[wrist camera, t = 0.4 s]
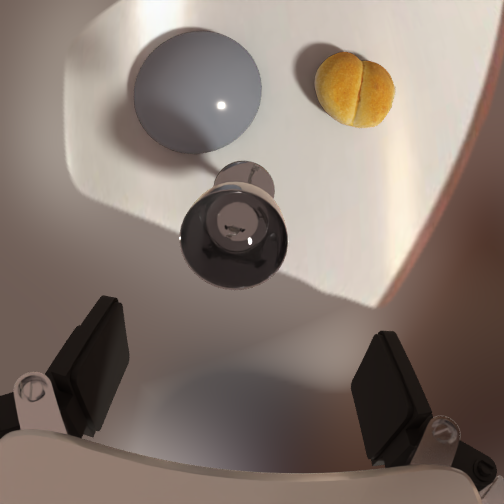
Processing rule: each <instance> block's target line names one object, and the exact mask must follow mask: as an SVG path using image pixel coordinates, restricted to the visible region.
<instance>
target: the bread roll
mask: <svg viewBox="0 0 504 504" xmlns="http://www.w3.org/2000/svg"><path fill="white" fill-rule="evenodd" d="M314 82H315V90H316V94H317V97H318V100H319V102H320V104H321V106H322V107H323V109H324V110H325V111H326V112H327V113H328V114H329V115H330V116H331V117H332V118H334V119H335V120H337V121H338V122H340V123H342V124H344V125H349V126H353V127H357V128H370V127H374V126H377V125H378V124H379V123H381V122H382V120H383V119H384V118H385V117H386V115H387V113H388V112H389V111H390V109H391V107H392V102H393V99H394V95H395V86H394V84H393V81H392V78H391V76H390V75H389V73H388V72H387V71H386V70H385V69H384V68H383V67H382V66H381V65H379V64H377V63H375V62H371V61H360V60H359V59H358V58H357V57H356V56H355V55H353V54H352V53H348V52H340V53H337V54H334V55H332V56H330V57H329V58H327V59H326V60H325V61H324V62H323V63H322V64H321V65H320V67H319V68H318V70H317V72H316V76H315V81H314Z"/></svg>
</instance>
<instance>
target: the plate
mask: <svg viewBox="0 0 504 504" xmlns="http://www.w3.org/2000/svg"><path fill="white" fill-rule="evenodd" d="M261 90H262V86H261V78H260V74H259V70H258V68H257V66H256V63H255V61H254V60H253V58H252V56H251V55H250V54H249V53H248V52H247V50H246V49H245V48H244V47H242V46H241V45H240V44H239V43H237V42H236V41H235V40H233V39H231V38H229V37H227V36H224V35H221V34H219V33H214V32H207V31H196V32H189V33H184V34H181V35H178V36H175V37H173V38H171V39H169V40H167V41H165V42H164V43H162V44H161V45H160V46H158V47H157V48H156V49H155V50H154V51H153V52H152V53H151V54H150V55H149V56H148V58H147V59H146V60H145V61H144V63H143V65H142V67H141V68H140V71H139V73H138V75H137V79H136V82H135V88H134V105H135V110H136V113H137V116H138V119H139V121H140V123H141V125H142V126H143V128H144V129H145V131H146V132H147V133H148V134H149V135H150V136H151V137H152V138H153V139H154V140H155V141H156V142H158V143H159V144H161V145H163V146H164V147H166V148H168V149H171V150H173V151H177V152H181V153H188V154H200V153H207V152H211V151H215V150H217V149H220V148H223V147H224V146H226V145H228V144H230V143H231V142H233V141H234V140H236V139H237V138H238V137H239V136H240V135H241V134H242V133H244V131H245V130H246V129H247V128H248V127H249V126H250V124H251V122H252V121H253V119H254V118H255V115H256V113H257V111H258V108H259V105H260V100H261Z"/></svg>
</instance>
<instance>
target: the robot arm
mask: <svg viewBox="0 0 504 504" xmlns="http://www.w3.org/2000/svg"><path fill="white" fill-rule="evenodd" d="M128 363H129V349H128V343H127V336H126V329H125V322H124V314H123V306H122V304H121V303H119V302H118V299H117V298H114V297H108V296H101V297H100V299H99V300H98V301H97V303H96V304H95V306H94V307H93V309H92V310H91V311H90V313H89V314H88V315H87V317H86V318H85V320H84V321H83V323H82V324H81V325H79V326H77V327H76V328H75V330H74V331H73V333H72V334H71V335H70V337H69V338H68V340H67V341H66V343H65V344H64V346H63V347H62V349H61V350H60V352H59V353H58V355H57V356H56V358H55V359H54V361H53V362H52V364H51V365H50V367H49V369H48V370H47V372H46V373H45V375H44V374H42V373H39V372H29V373H26V374H24V375H23V376H21V377H20V378H19V379H18V380H17V381H16V383H15V385H14V392H12V393H9V394H5V395H2V396H0V504H504V478H503V477H501V476H498V477H497V476H496V473H497V469H496V465H495V463H494V461H493V460H492V459H491V458H490V457H488V456H486V455H485V454H483V453H481V452H480V451H478V450H476V449H474V448H473V447H471V446H469V445H467V444H466V443H464V442H462V441H460V429H459V427H458V426H457V424H456V423H455V422H454V421H453V420H452V419H450V418H448V417H445V416H436V417H434V418H433V416H432V411H431V408H430V406H429V404H428V401H427V399H426V397H425V394H424V392H423V390H422V387H421V385H420V383H419V381H418V379H417V376H416V374H415V372H414V370H413V368H412V365H411V363H410V361H409V359H408V357H407V355H406V353H405V351H404V349H403V347H402V345H401V342H400V340H399V339H398V337H397V334H396V333H395V332H394V331H380V332H379V333H378V334H375V335H374V337H373V339H372V341H371V343H370V345H369V348H368V350H367V352H366V354H365V356H364V358H363V360H362V362H361V364H360V366H359V368H358V370H357V372H356V374H355V376H354V378H353V380H352V383H351V391H352V395H353V398H354V403H355V407H356V411H357V415H358V419H359V423H360V428H361V432H362V436H363V440H364V445H365V449H366V454H367V457H368V459H371V461H372V466H377V465H385V468H383V469H373V470H363V471H351V472H337V473H310V474H309V473H308V474H292V473H291V474H290V473H289V474H288V473H261V472H246V471H235V470H225V469H217V468H209V467H202V466H195V465H189V464H182V463H177V462H172V461H167V460H162V459H157V458H152V457H148V456H144V455H139V454H136V453H132V452H127V451H124V450H120V449H116V448H112V447H109V446H105V445H102V444H99V443H95V442H92V441H88V440H85V439H82V436H83V434H85V435H87V436H90V437H94V434H95V431H100V429H101V427H102V425H103V422H104V420H105V418H106V415H107V413H108V410H109V407H110V405H111V403H112V400H113V398H114V396H115V393H116V391H117V388H118V386H119V384H120V381H121V379H122V377H123V375H124V372H125V370H126V368H127V365H128Z"/></svg>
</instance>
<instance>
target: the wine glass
mask: <svg viewBox="0 0 504 504" xmlns="http://www.w3.org/2000/svg"><path fill="white" fill-rule="evenodd" d="M274 193H275V189H274V183H273V180H272V178H271V176H270V175H269V173H268V172H267V171H266V170H265V169H264V168H263V167H261V166H260V165H258V164H256V163H253V162H249V161H238V162H234V163H232V164H230V165H228V166H226V167H225V168H224V169H223V170H222V171H221V172H220V173H219V174H218V176H217V178H216V180H215V183H214V187H212V188H210V189H209V190H207V191H206V192H205V193H203V194H202V195H201V196H200V197H199V198H198V199H197V200H196V201H195V202H194V204H193V205H192V206H191V208H190V209H189V211H188V212H187V214H186V216H185V218H184V220H183V223H182V225H181V230H180V247H181V252H182V254H183V257H184V260H185V261H186V263H187V264H188V266H189V268H190V269H191V270H192V271H193V272H194V273H195V274H196V275H197V276H198V277H199V278H201V279H202V280H204V281H205V282H207V283H209V284H211V285H213V286H216V287H219V288H223V289H229V290H243V289H248V288H252V287H255V286H258V285H260V284H262V283H264V282H265V281H267V280H268V279H269V278H271V277H272V276H273V275H274V274H275V273H276V272H277V271H278V270H279V268H280V267H281V265H282V263H283V261H284V259H285V256H286V253H287V247H288V235H287V228H286V224H285V220H284V217H283V214H282V212H281V210H280V208H279V206H278V205H277V203H276V202H275V200H274V199H273V198H274Z"/></svg>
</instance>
